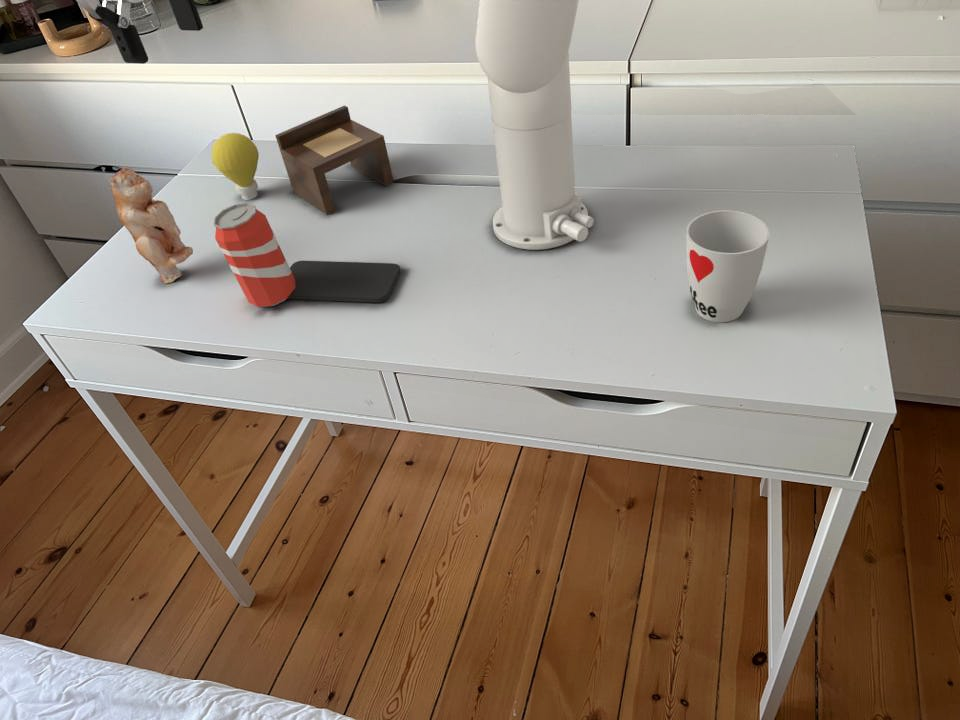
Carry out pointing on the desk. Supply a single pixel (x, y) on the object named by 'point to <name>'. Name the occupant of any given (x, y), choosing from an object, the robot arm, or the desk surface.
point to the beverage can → (254, 255)
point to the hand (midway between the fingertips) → (165, 45)
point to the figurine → (149, 223)
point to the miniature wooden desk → (331, 154)
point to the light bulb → (237, 162)
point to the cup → (724, 262)
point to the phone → (344, 281)
